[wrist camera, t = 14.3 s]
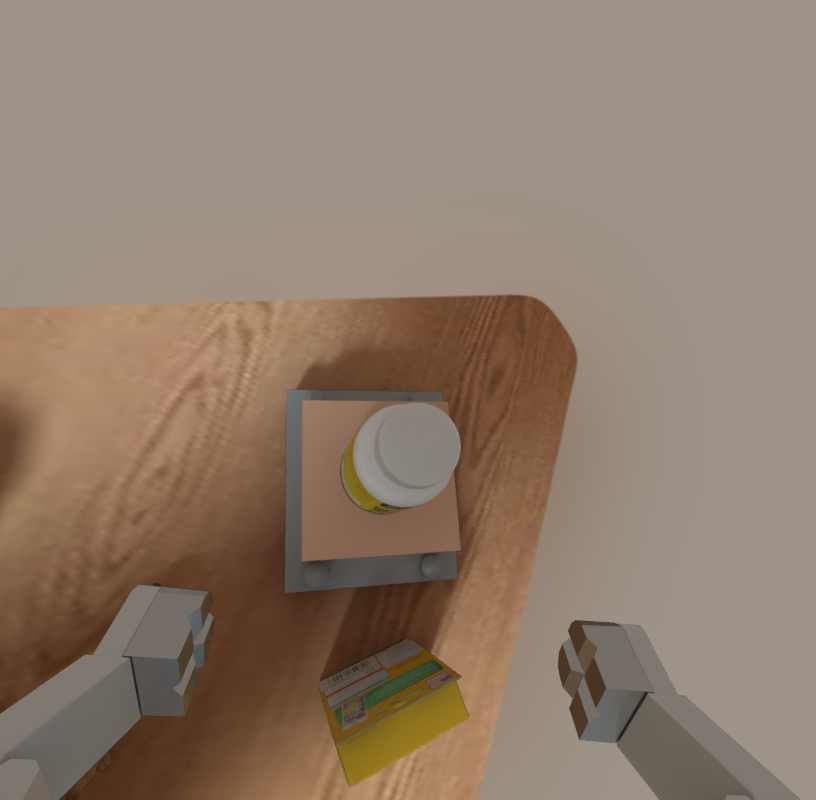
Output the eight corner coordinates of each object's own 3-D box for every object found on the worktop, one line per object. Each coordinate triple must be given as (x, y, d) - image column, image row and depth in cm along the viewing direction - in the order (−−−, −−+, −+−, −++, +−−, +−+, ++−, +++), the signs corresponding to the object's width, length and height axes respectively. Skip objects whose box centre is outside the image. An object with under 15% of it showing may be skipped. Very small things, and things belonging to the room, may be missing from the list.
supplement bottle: (358, 530, 30) (390, 521, 21) (325, 450, 31) (343, 408, 22) (433, 495, 32) (493, 474, 23) (401, 421, 33) (445, 371, 24)
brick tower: (441, 575, 38) (478, 582, 31) (284, 588, 35) (284, 598, 28) (428, 405, 42) (458, 375, 35) (286, 404, 39) (287, 371, 32)
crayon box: (330, 726, 34) (352, 809, 23) (317, 682, 34) (331, 743, 23) (424, 676, 36) (484, 731, 25) (409, 636, 37) (462, 672, 26)
